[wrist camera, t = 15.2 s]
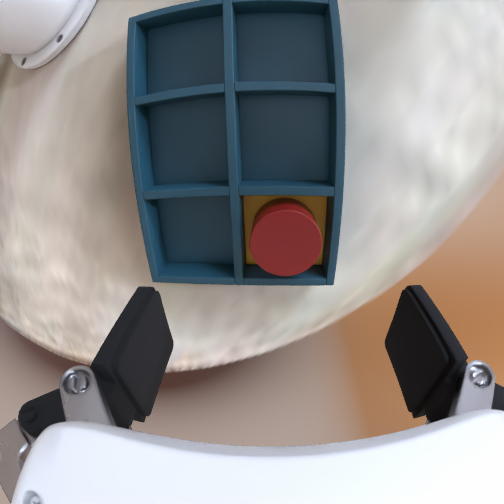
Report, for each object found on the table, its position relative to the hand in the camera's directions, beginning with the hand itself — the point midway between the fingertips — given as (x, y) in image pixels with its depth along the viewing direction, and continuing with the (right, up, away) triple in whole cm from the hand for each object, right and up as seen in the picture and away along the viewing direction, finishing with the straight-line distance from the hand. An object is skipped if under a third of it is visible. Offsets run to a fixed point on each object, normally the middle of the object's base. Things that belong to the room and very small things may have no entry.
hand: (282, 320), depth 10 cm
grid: (-2, +10, +8) cm, 13 cm away
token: (+1, +4, +10) cm, 11 cm away
